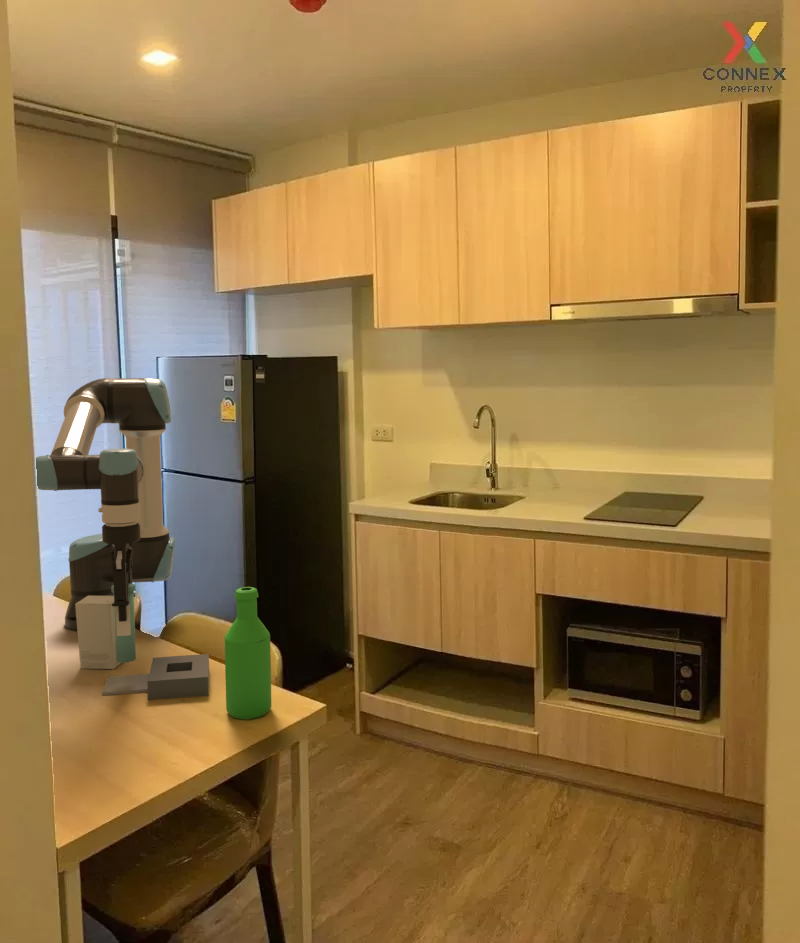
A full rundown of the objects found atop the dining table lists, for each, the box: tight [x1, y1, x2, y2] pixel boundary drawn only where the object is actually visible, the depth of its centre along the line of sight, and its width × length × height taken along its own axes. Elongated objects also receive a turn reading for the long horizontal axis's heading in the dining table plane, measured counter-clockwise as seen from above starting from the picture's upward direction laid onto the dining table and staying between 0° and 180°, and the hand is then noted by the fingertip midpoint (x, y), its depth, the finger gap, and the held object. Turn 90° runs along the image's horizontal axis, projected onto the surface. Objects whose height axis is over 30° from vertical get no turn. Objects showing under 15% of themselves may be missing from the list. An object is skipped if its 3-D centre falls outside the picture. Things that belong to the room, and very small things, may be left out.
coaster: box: [101, 673, 149, 696], centre depth 175 cm, size 9×9×1 cm
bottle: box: [224, 586, 272, 720], centre depth 160 cm, size 9×9×25 cm
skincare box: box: [75, 596, 122, 670], centre depth 186 cm, size 8×7×16 cm
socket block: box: [147, 653, 210, 701], centre depth 175 cm, size 14×12×4 cm
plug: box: [111, 583, 137, 664], centre depth 173 cm, size 5×5×16 cm
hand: (125, 631), depth 173 cm, fingers closed on plug, 4 cm apart
